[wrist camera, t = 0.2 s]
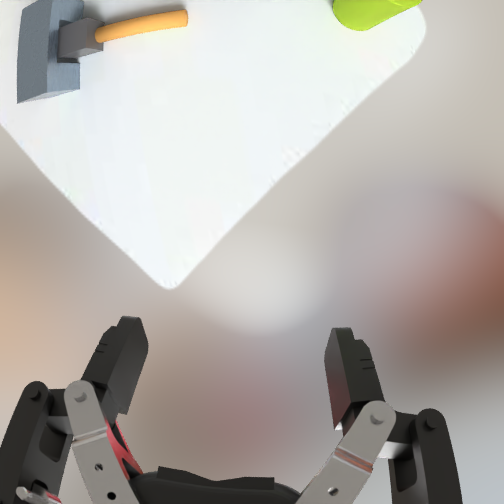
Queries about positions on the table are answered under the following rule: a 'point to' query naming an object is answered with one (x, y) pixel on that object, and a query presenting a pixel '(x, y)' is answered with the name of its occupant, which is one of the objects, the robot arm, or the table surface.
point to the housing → (45, 50)
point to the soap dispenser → (368, 11)
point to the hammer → (111, 32)
